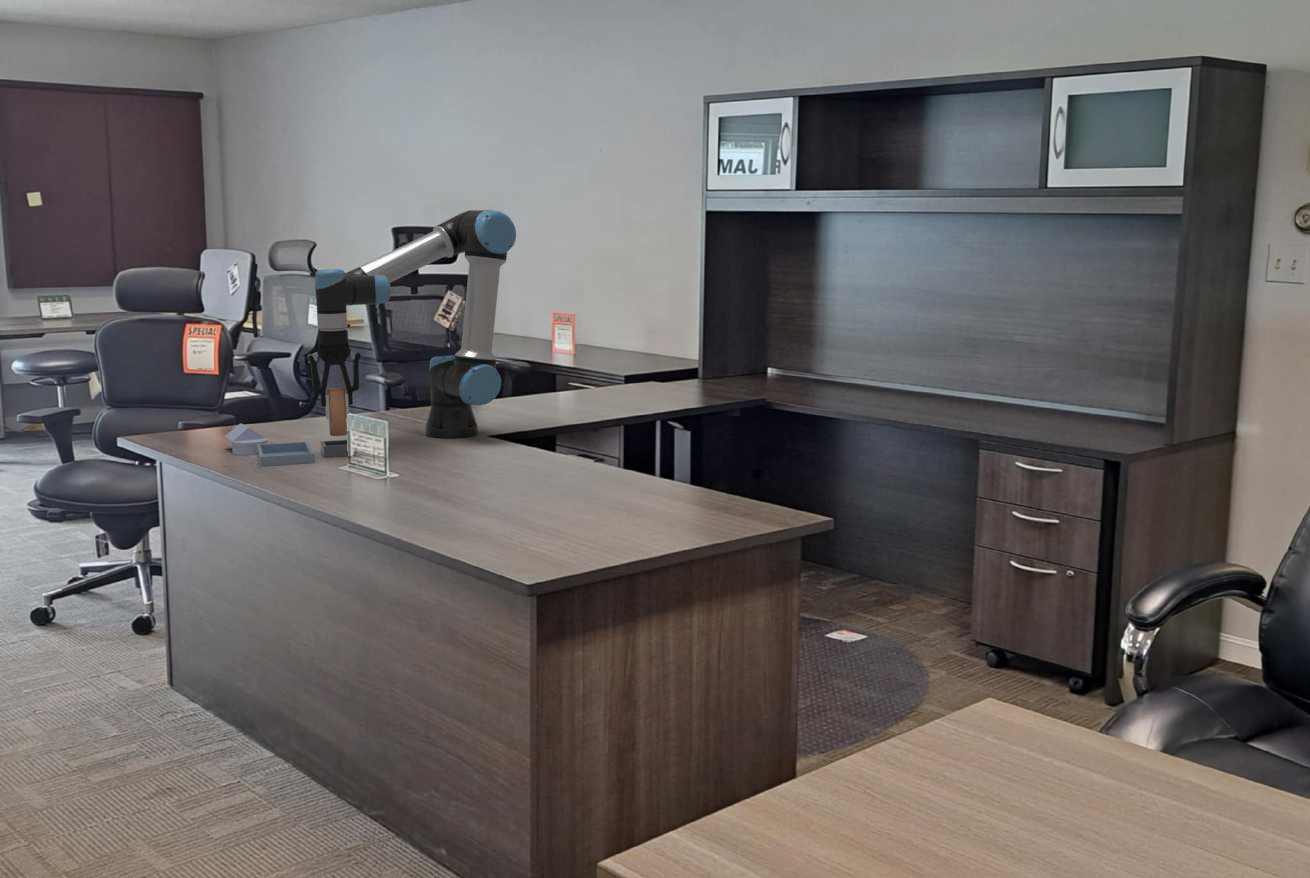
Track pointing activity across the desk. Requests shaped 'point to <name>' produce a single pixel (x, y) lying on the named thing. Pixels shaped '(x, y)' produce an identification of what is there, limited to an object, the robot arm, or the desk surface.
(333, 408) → the dowel
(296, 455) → the tray
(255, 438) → the wedge on round base
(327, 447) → the grey square open box
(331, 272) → the robot arm
